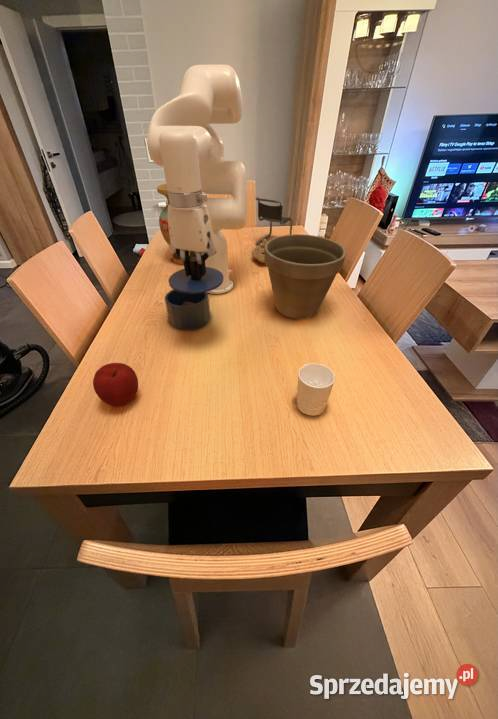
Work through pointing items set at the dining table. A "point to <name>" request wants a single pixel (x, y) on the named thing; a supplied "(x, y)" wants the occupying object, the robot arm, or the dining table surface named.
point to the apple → (116, 384)
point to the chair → (272, 214)
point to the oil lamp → (260, 252)
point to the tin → (187, 309)
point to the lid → (195, 279)
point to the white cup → (314, 388)
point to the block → (187, 303)
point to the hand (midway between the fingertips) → (195, 274)
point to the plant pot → (302, 272)
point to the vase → (164, 224)
